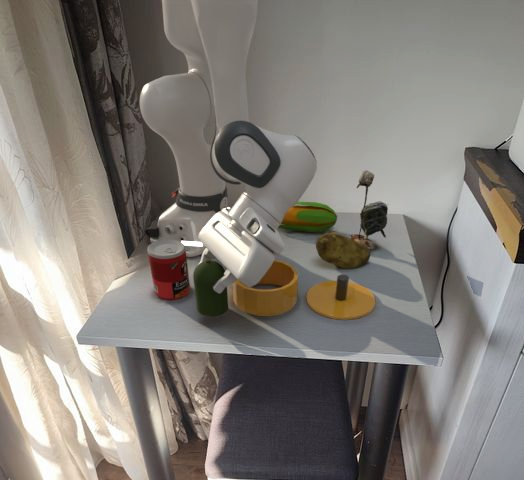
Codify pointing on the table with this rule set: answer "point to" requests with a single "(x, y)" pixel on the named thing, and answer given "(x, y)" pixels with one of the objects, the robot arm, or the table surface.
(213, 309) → the avocado
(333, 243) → the potato
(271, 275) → the pot
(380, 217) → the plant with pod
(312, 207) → the corn
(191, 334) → the table surface
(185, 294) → the canned food
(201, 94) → the robot arm
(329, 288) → the lid
